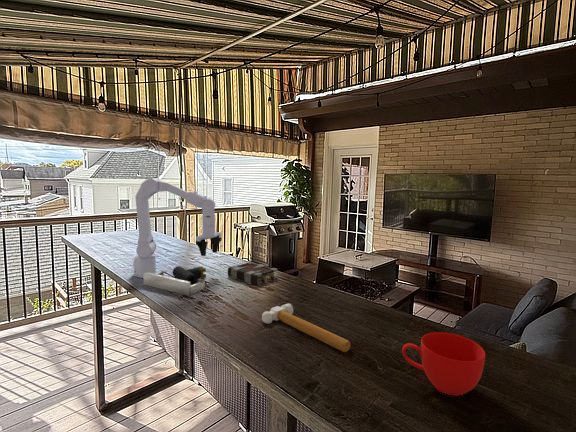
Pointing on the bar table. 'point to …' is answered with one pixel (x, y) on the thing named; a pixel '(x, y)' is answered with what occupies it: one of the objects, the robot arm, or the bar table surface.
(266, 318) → the hammer
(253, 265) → the book
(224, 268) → the bar table surface
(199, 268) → the pipe connector
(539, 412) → the bar table surface
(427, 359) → the ceramic cup
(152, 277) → the white long box
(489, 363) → the bar table surface
